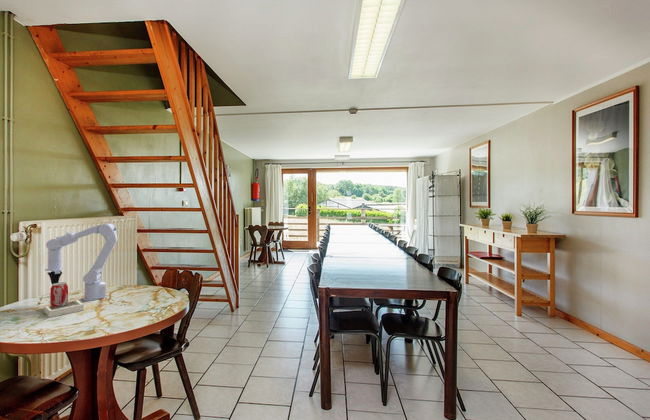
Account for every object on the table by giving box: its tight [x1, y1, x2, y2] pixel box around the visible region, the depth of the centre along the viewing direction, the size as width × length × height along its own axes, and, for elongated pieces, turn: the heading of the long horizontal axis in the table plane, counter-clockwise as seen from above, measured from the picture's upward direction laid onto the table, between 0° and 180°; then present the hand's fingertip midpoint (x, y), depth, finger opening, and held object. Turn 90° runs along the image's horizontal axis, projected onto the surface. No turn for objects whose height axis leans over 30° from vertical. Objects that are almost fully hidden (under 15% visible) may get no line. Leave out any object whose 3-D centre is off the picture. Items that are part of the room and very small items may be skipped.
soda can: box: [49, 281, 69, 309], centre depth 157 cm, size 7×7×12 cm
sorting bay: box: [44, 299, 85, 318], centre depth 149 cm, size 13×12×3 cm
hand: (54, 284), depth 164 cm, fingers closed
